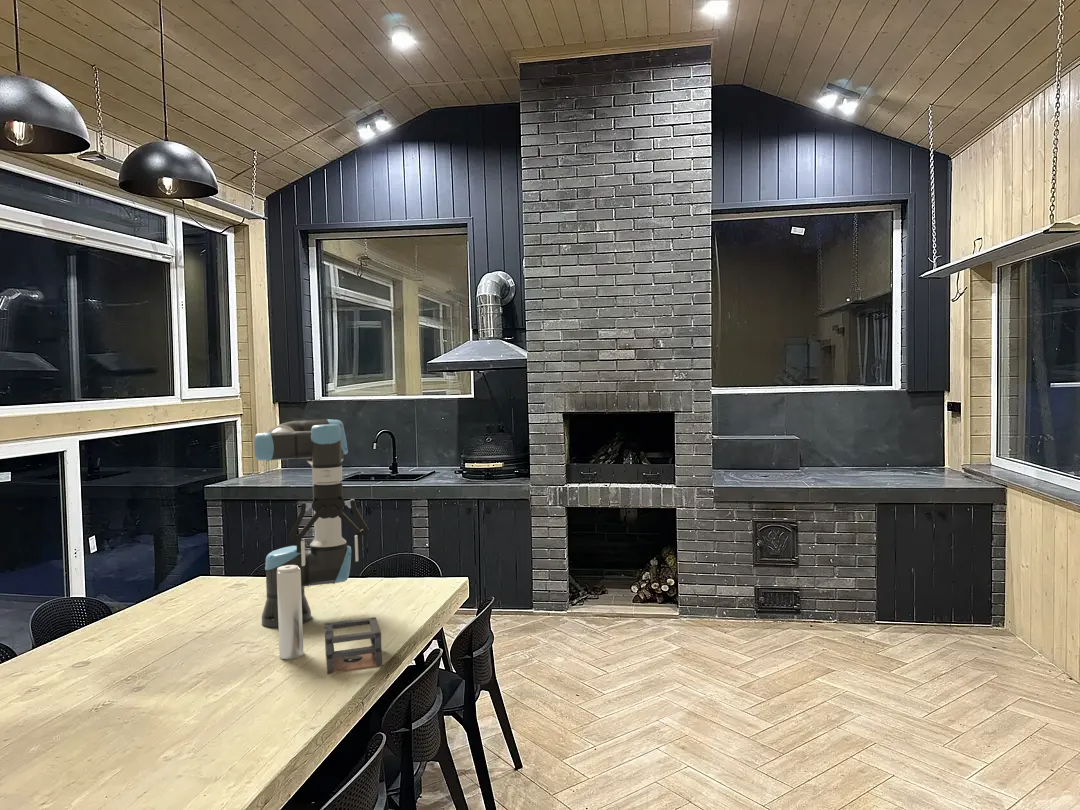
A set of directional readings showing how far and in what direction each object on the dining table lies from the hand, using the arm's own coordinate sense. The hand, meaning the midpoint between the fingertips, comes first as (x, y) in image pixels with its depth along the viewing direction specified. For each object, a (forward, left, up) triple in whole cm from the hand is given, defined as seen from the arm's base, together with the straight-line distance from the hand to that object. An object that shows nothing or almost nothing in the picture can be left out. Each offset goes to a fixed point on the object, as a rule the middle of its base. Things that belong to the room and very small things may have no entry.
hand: (330, 562), depth 188 cm
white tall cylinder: (-14, -11, -28) cm, 34 cm away
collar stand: (-3, +5, -28) cm, 29 cm away
